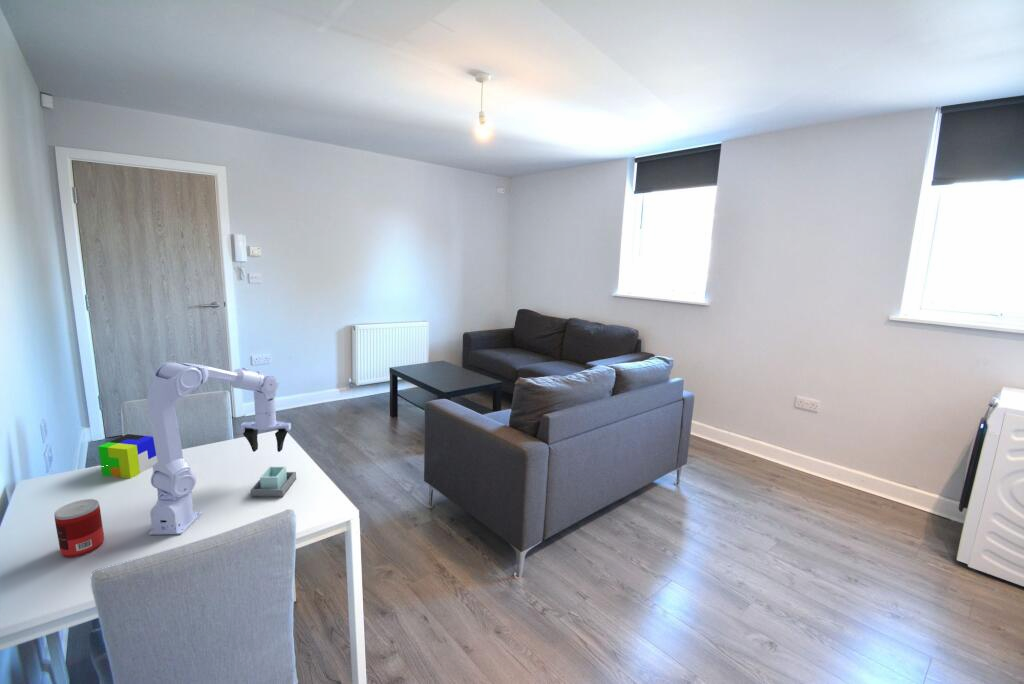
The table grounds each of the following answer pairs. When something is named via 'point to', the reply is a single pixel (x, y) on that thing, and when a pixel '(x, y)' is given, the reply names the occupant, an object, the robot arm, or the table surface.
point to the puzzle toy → (127, 456)
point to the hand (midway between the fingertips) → (267, 450)
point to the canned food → (79, 527)
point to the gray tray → (259, 492)
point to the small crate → (273, 478)
